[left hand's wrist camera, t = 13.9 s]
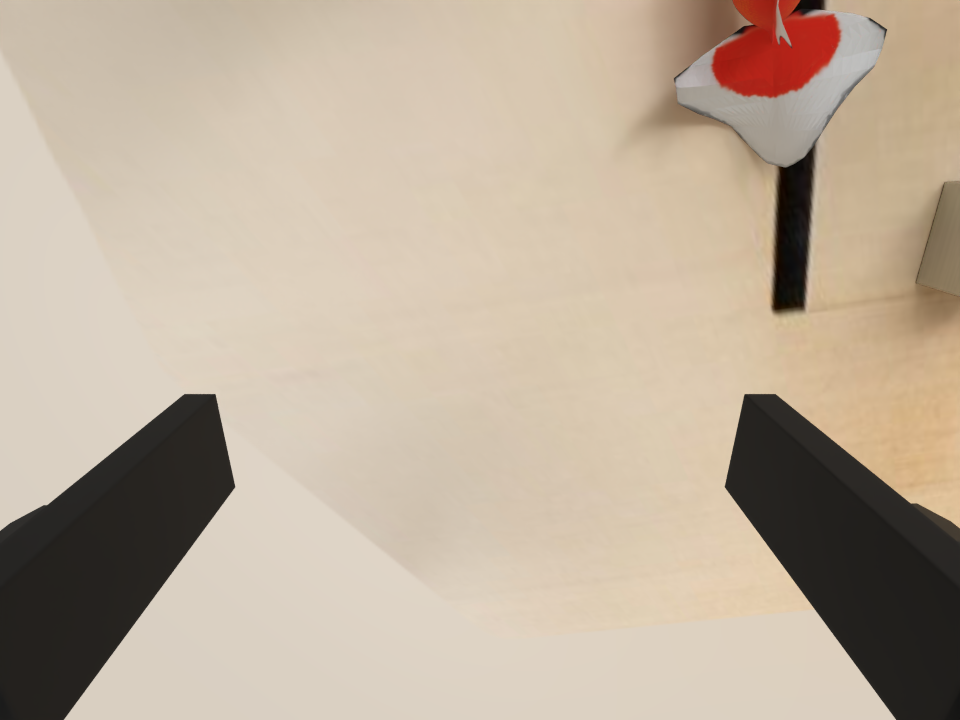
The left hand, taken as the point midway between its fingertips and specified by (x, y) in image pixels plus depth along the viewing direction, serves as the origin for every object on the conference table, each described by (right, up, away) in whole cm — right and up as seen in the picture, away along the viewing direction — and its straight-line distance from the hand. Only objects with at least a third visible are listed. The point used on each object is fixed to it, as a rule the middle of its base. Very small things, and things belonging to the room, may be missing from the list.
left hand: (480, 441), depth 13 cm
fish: (+17, +22, +19) cm, 34 cm away
